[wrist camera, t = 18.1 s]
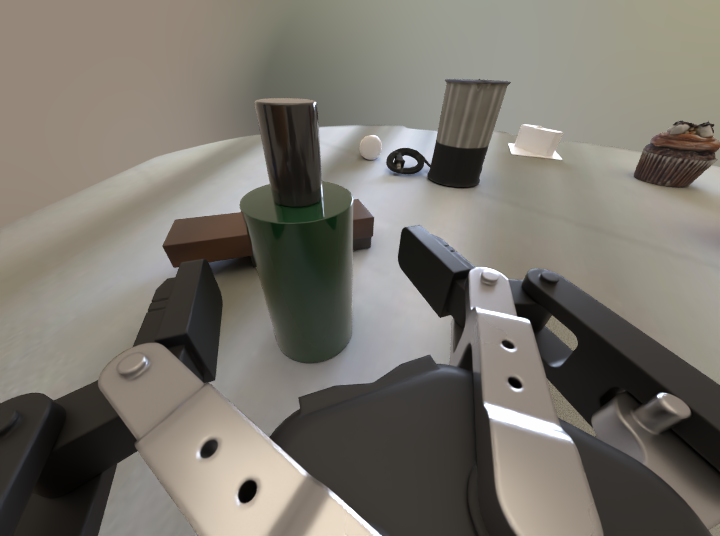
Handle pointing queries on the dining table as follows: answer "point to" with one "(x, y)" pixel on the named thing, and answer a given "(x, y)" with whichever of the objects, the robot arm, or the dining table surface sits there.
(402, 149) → the milk frother
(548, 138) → the napkin holder
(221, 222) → the brush
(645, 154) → the cupcake
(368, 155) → the unicorn horn
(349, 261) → the green bottle
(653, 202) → the dining table surface
